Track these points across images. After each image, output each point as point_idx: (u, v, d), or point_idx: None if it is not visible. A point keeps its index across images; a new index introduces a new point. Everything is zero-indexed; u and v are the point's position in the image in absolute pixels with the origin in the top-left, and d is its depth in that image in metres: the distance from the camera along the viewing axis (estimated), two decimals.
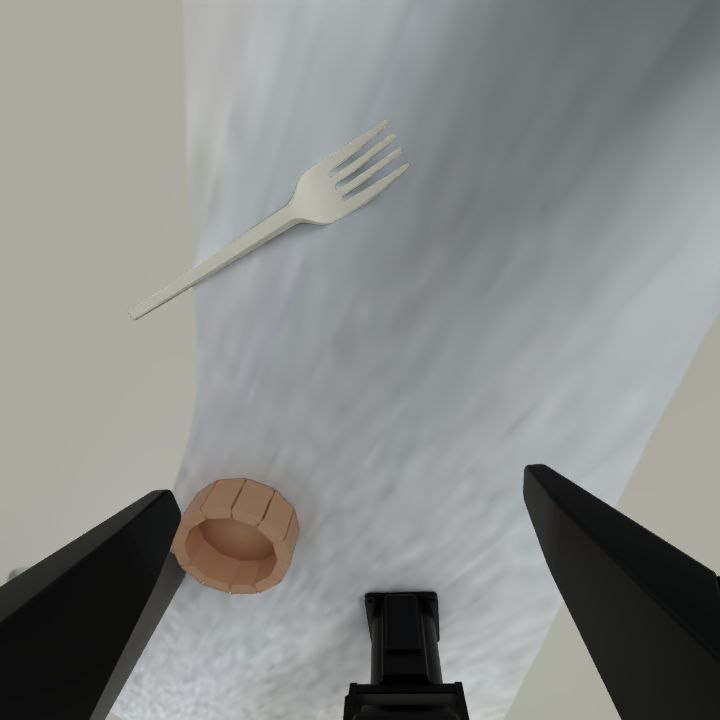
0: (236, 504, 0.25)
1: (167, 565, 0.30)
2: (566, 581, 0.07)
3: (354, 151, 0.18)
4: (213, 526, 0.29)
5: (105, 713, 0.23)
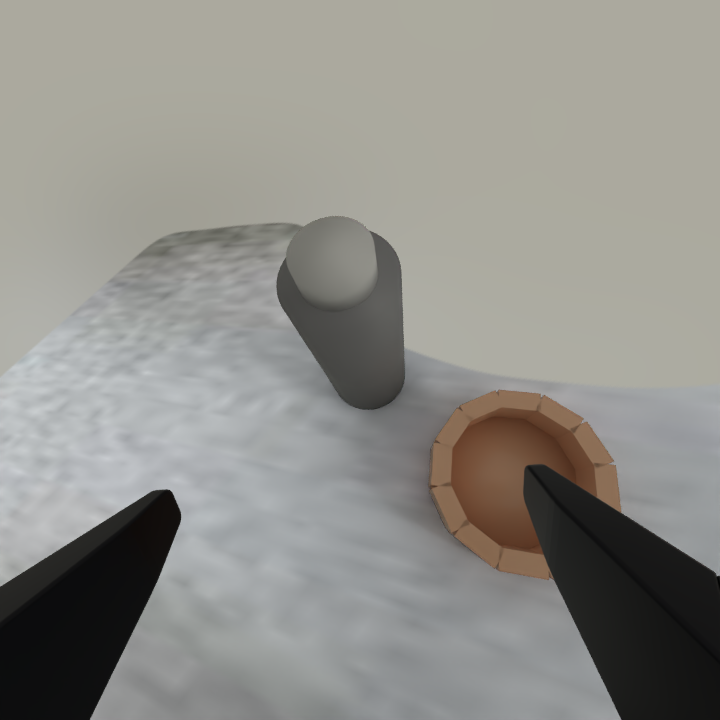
0: None
1: (399, 386, 0.22)
2: (566, 581, 0.07)
3: None
4: (496, 437, 0.21)
5: (349, 348, 0.14)
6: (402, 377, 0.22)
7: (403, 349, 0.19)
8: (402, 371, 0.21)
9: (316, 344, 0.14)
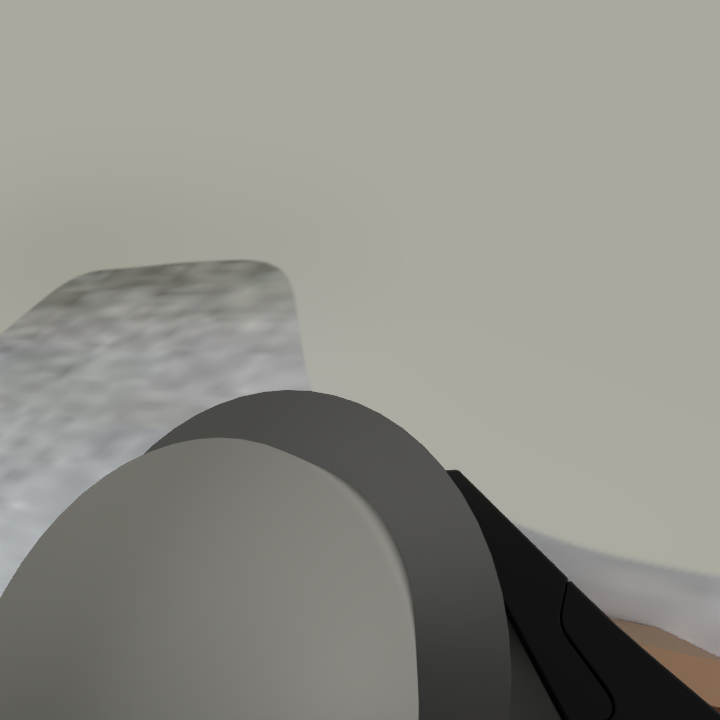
0: None
1: None
2: None
3: None
4: None
5: None
6: None
7: None
8: None
9: None
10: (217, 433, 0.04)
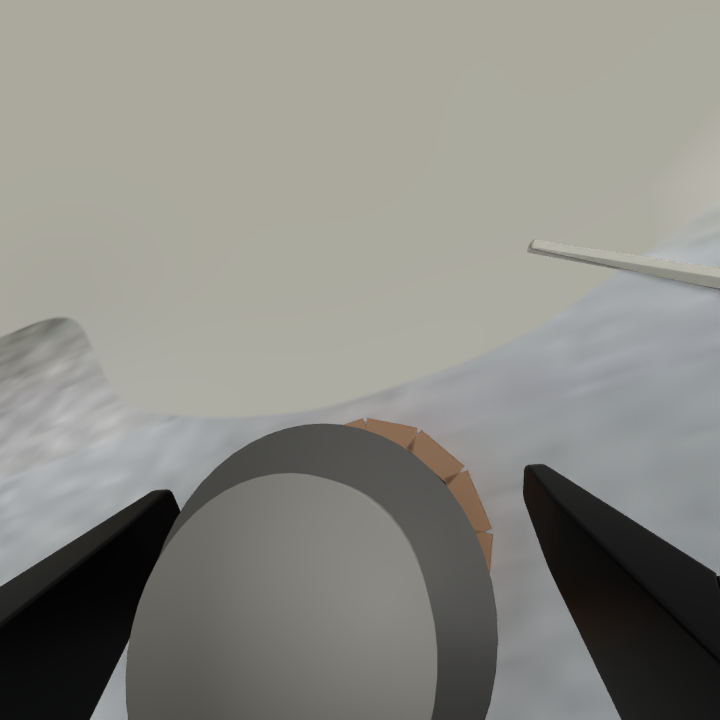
0: None
1: None
2: (566, 581, 0.07)
3: None
4: None
5: None
6: None
7: None
8: None
9: None
10: (268, 458, 0.06)
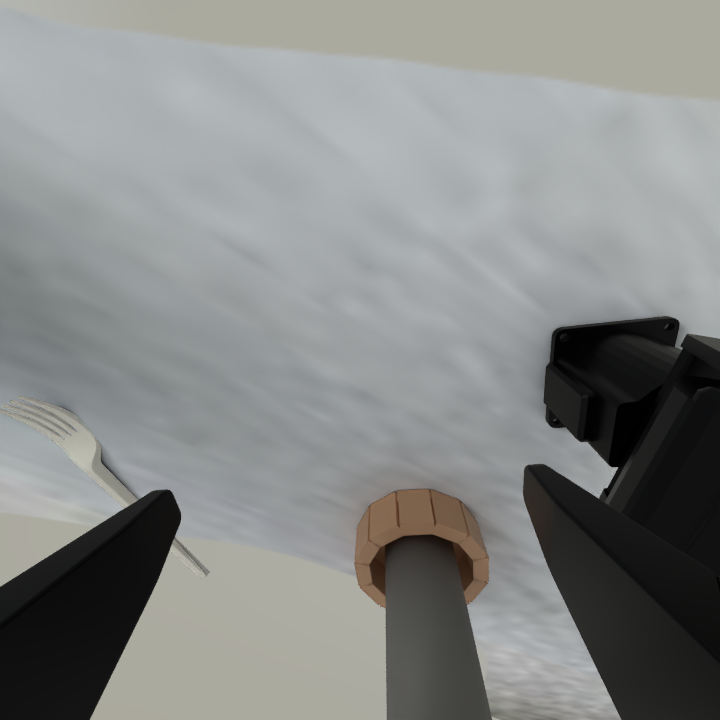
0: (355, 556, 0.24)
1: None
2: (566, 581, 0.07)
3: (37, 424, 0.24)
4: None
5: (474, 703, 0.16)
6: (405, 541, 0.24)
7: (401, 590, 0.21)
8: (405, 554, 0.23)
9: None
10: None
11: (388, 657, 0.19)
